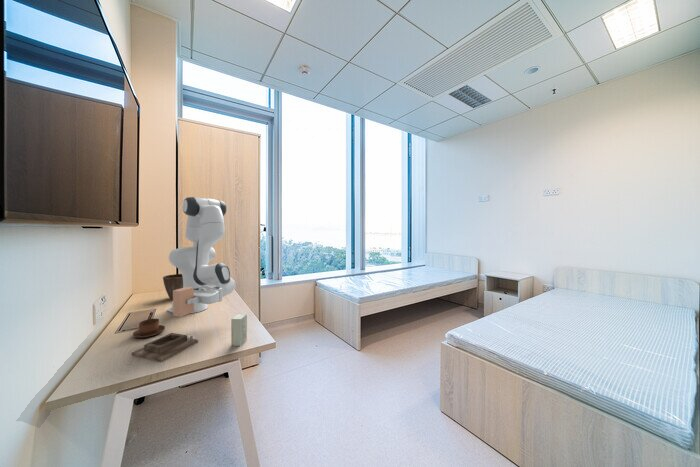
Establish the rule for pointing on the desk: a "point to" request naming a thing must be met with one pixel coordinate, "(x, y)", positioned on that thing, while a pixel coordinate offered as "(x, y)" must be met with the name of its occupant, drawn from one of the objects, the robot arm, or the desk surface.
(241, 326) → the skincare box
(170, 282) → the plant pot
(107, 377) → the desk surface
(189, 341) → the keyed holder
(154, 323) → the cup and saucer
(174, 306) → the keyed block
